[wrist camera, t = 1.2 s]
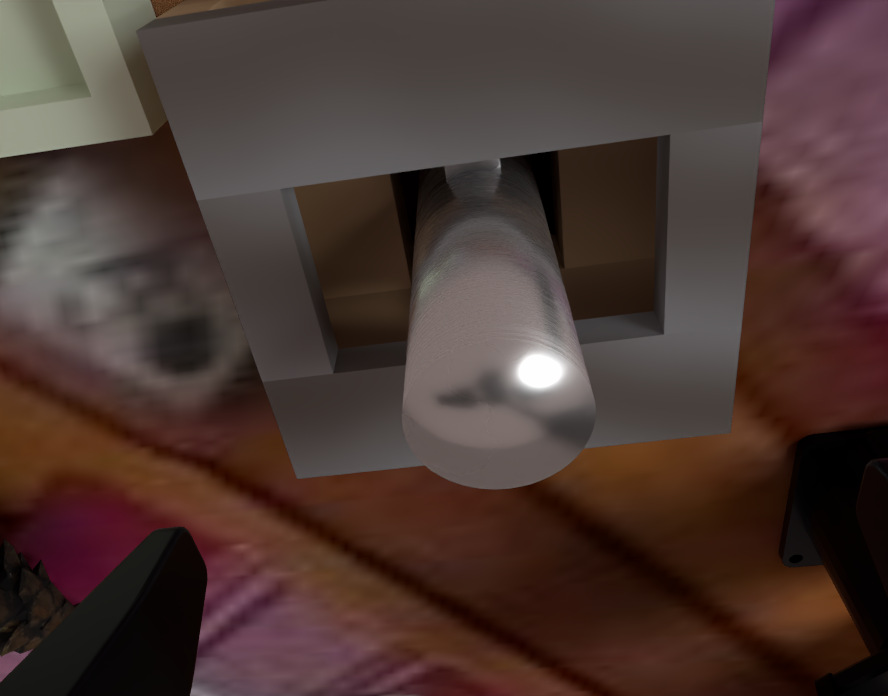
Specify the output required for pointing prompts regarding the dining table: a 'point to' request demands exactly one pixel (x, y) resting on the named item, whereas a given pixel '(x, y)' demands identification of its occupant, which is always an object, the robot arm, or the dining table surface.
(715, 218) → the block
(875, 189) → the dining table surface
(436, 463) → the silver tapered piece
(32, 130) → the tray
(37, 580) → the pine cone
